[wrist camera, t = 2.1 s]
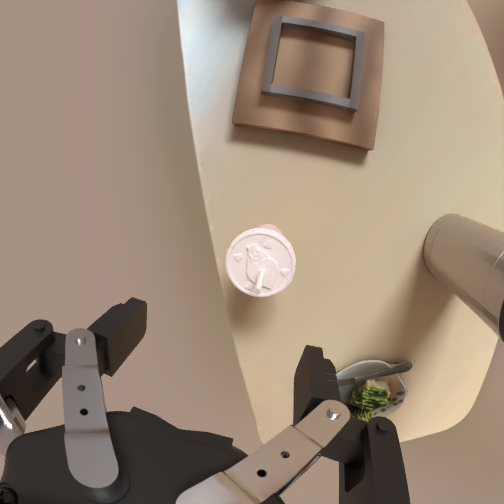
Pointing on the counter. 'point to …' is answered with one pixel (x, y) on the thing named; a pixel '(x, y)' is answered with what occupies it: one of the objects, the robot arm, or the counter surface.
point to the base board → (312, 73)
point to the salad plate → (372, 388)
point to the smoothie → (261, 261)
